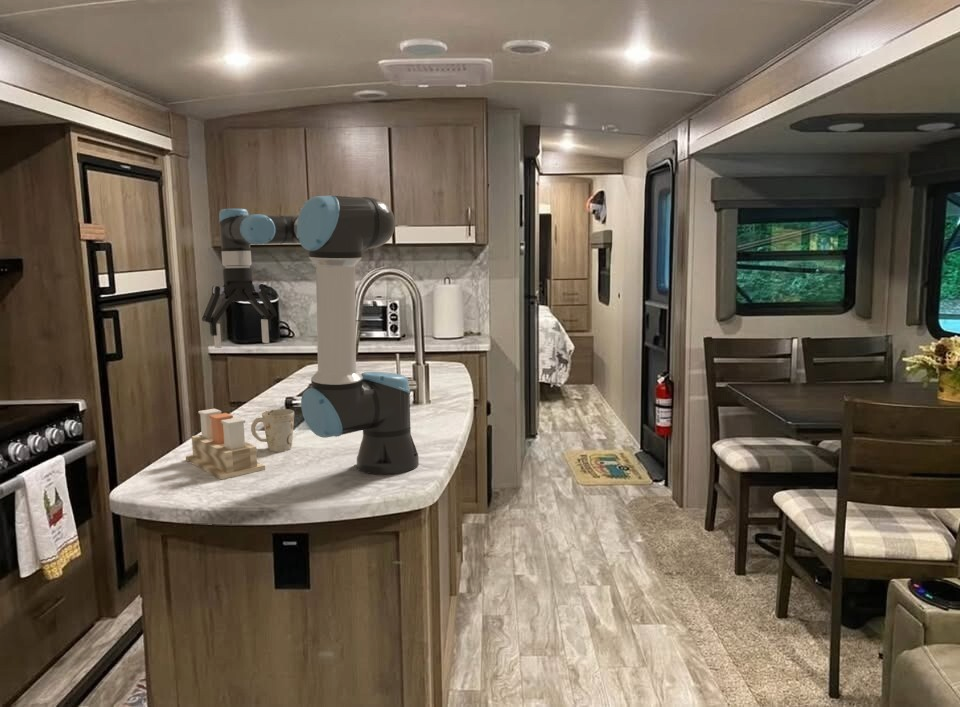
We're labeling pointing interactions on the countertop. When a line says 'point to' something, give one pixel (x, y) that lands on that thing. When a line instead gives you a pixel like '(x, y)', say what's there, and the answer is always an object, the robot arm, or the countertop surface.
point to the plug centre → (218, 427)
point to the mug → (276, 429)
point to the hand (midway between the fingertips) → (242, 345)
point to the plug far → (207, 422)
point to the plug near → (233, 433)
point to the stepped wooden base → (223, 458)
